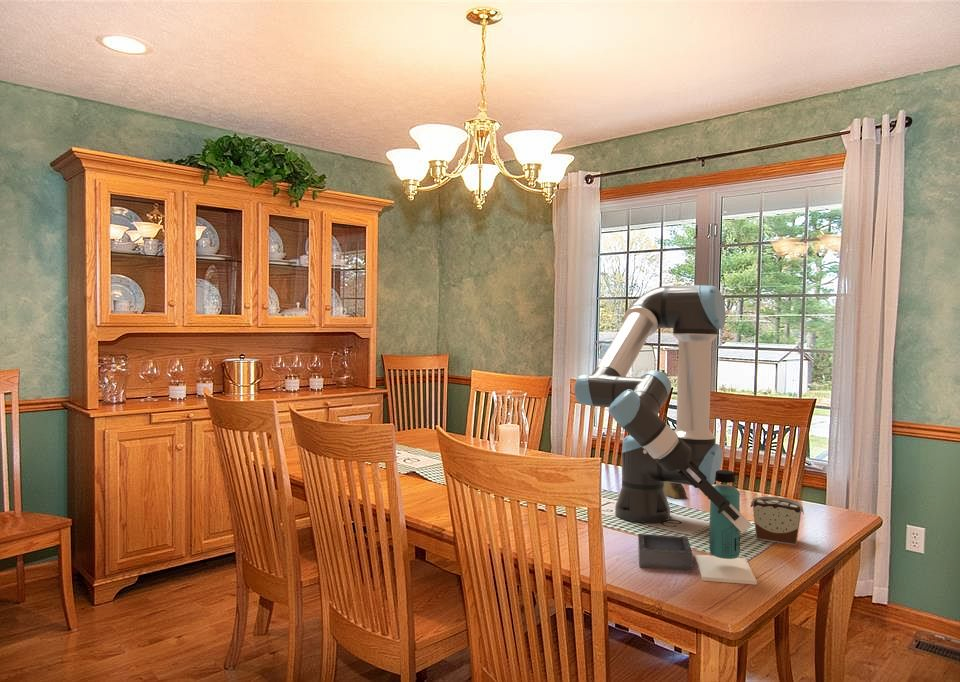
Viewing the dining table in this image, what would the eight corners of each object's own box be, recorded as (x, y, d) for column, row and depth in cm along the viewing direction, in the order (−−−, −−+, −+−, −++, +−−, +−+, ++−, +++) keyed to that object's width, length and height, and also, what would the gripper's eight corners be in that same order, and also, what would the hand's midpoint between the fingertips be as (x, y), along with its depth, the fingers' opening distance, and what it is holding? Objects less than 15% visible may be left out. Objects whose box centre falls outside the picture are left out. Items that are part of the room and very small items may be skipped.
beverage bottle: (737, 568, 148) (739, 475, 147) (705, 562, 151) (707, 472, 150) (742, 558, 153) (743, 469, 153) (711, 553, 157) (712, 466, 156)
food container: (805, 539, 174) (806, 500, 173) (803, 546, 168) (803, 505, 168) (753, 531, 180) (754, 493, 180) (749, 538, 175) (750, 499, 174)
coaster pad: (695, 557, 160) (695, 554, 160) (745, 561, 158) (745, 557, 158) (702, 580, 146) (702, 576, 146) (756, 584, 144) (756, 580, 144)
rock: (643, 483, 222) (653, 487, 212) (658, 462, 223) (669, 464, 213) (670, 504, 222) (681, 508, 212) (685, 482, 223) (697, 485, 213)
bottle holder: (638, 550, 165) (638, 533, 165) (687, 553, 163) (687, 536, 163) (639, 567, 154) (639, 549, 154) (692, 571, 152) (692, 553, 152)
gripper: (647, 451, 162) (717, 521, 161) (662, 470, 143) (742, 549, 142) (670, 429, 162) (741, 500, 161) (689, 445, 142) (769, 525, 142)
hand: (741, 523), depth 152 cm, fingers closed on beverage bottle, 6 cm apart
